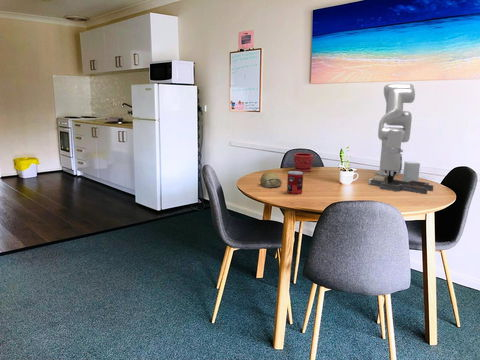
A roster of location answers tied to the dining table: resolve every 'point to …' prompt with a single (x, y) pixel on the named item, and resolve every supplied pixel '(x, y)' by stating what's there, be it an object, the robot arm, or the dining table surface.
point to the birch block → (381, 178)
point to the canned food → (295, 182)
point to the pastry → (270, 180)
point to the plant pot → (303, 161)
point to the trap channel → (403, 185)
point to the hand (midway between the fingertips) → (390, 182)
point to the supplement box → (411, 171)
